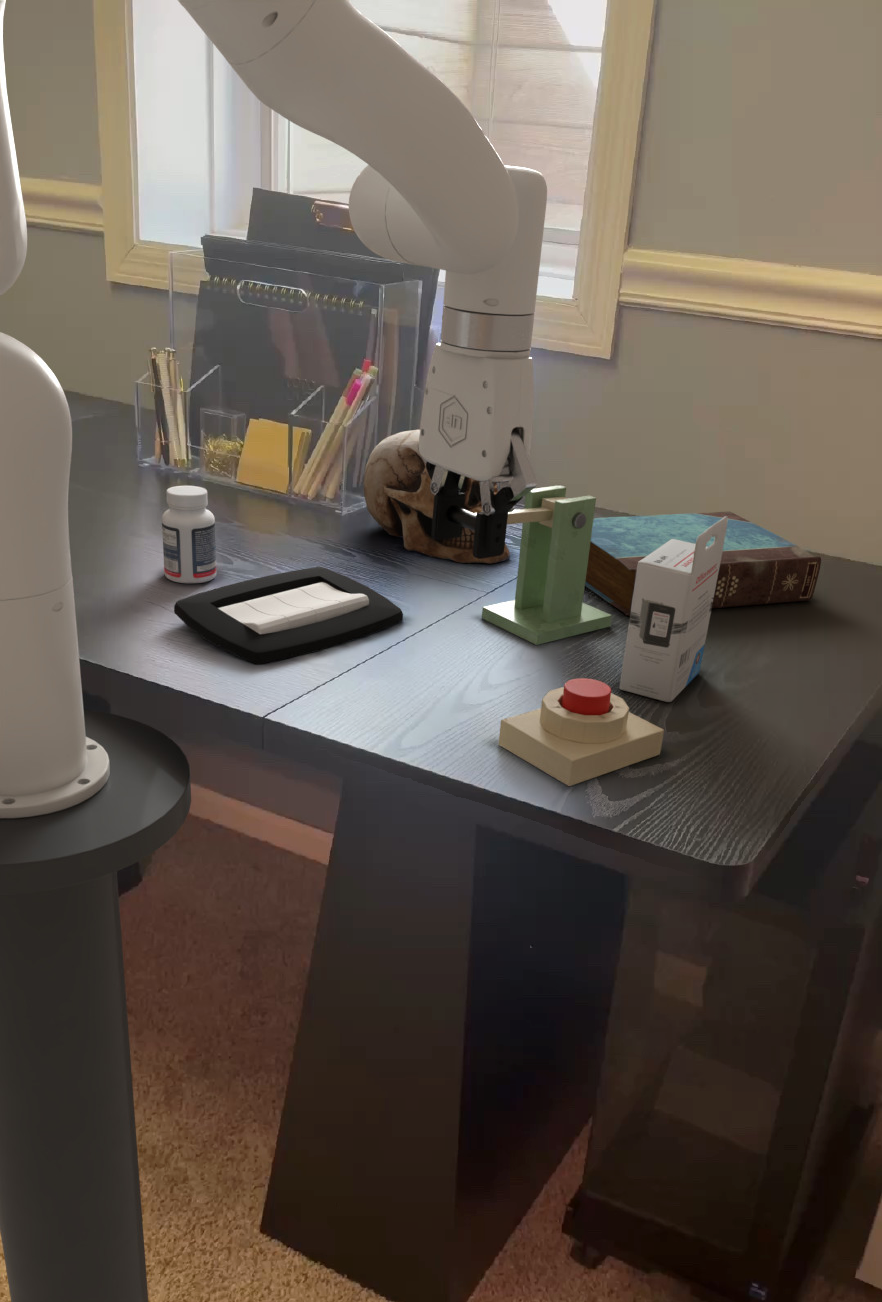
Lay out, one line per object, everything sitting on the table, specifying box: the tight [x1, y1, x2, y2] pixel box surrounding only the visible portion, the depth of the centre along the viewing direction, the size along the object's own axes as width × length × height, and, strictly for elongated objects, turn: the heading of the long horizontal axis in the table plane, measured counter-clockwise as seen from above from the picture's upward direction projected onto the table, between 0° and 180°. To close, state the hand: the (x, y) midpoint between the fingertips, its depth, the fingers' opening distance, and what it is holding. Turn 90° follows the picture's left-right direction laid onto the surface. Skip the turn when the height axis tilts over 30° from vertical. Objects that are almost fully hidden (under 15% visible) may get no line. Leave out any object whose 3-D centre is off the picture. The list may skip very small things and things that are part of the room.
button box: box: [498, 686, 665, 787], centre depth 93 cm, size 10×8×4 cm
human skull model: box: [363, 429, 511, 565], centre depth 137 cm, size 16×17×13 cm
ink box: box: [619, 516, 728, 703], centre depth 103 cm, size 9×5×15 cm, turn 151°
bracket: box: [481, 484, 613, 646], centre depth 115 cm, size 10×8×13 cm
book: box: [585, 511, 822, 616], centre depth 131 cm, size 23×18×5 cm
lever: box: [447, 496, 569, 531], centre depth 110 cm, size 13×5×2 cm, turn 129°
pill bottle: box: [161, 485, 218, 584], centre depth 121 cm, size 5×5×9 cm
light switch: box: [173, 566, 404, 665], centre depth 113 cm, size 20×3×14 cm
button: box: [562, 677, 612, 715], centre depth 91 cm, size 4×4×2 cm
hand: (467, 544), depth 107 cm, fingers closed on lever, 5 cm apart
